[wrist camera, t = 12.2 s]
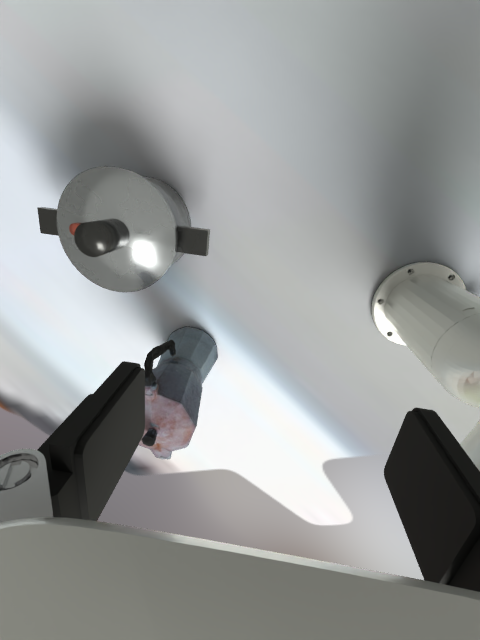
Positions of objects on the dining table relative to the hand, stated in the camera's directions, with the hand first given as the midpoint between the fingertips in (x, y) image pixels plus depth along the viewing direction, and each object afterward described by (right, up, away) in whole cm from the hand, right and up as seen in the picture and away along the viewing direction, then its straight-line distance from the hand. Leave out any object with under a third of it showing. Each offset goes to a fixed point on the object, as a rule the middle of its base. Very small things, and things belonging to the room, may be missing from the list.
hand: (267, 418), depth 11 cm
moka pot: (-9, -1, +41) cm, 42 cm away
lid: (-15, +14, +26) cm, 33 cm away
